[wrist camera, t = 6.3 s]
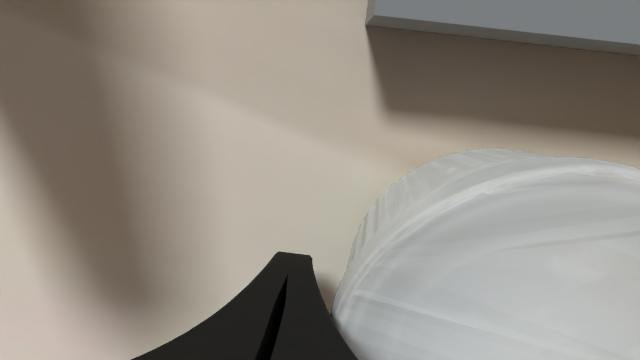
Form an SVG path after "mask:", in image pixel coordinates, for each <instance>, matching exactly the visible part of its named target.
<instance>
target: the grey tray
mask: <svg viewBox="0 0 640 360" xmlns="http://www.w3.org/2000/svg"><path fill="white" fill-rule="evenodd" d="M365 25H370V26H379V27H387V28H396V29H405V30H414V31H423V32H432V33H441V34H450V35H459V36H468V37H477V38H486V39H495V40H504V41H513V42H522V43H531V44H540V45H549V46H558V47H567V48H576V49H584V50H593V51H602V52H611V53H620V54H629V55H638V56H640V0H369V1H368V8H367V15H366V22H365Z"/></svg>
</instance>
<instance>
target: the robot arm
mask: <svg viewBox="0 0 640 360" xmlns="http://www.w3.org/2000/svg"><path fill="white" fill-rule="evenodd" d="M131 360H358V358H357V357H356V356H355V354H354V353H353V352H352V350H351V349H350V348H349V346H348V345H347V343H346V342H345V340H344V339H343V337H342V335H341V334H340V332H339V331H338V329H337V327H336V325H335V324H334V322H333V320H332V318H331V316H330V314H329V312H328V310H327V308H326V305H325V303H324V301H323V298H322V296H321V293H320V290H319V288H318V285H317V282H316V279H315V275H314V271H313V265H312V258H311V256H310V255H303V254H294V253H286V252H277V253H276V254H275V255H274V256H273V258H272V259H271V260H270V262H269V263H268V264H267V265H266V266H265V268H264V269H263V270H262V271H261V272H260V273H259V274H258V275H257V276H256V277H255V278H254V279H253V280H252V282H251V283H250V284H249V285H248V286H247V287H245V288H244V289H243V290H242V291H241V292H240V293H239V294H238V295H237V296H236V297H235V298H233V299H232V300H231V301H230V302H229V303H227V304H226V305H225V306H224V307H223V308H221V309H220V310H219V311H217V312H216V313H215V314H213V315H212V316H211V317H209V318H208V319H206V320H205V321H203V322H202V323H200V324H199V325H197V326H196V327H194V328H192V329H191V330H189V331H188V332H186V333H184V334H183V335H181V336H179V337H177V338H175V339H173V340H172V341H170V342H168V343H166V344H164V345H162V346H160V347H158V348H156V349H154V350H152V351H150V352H148V353H145V354H143V355H141V356H138V357H136V358H134V359H131Z"/></svg>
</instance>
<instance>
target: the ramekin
mask: <svg viewBox="0 0 640 360" xmlns="http://www.w3.org/2000/svg"><path fill="white" fill-rule="evenodd" d="M331 318H332V320H333V322H334V324H335V325H336V327H337V329H338V331H339V332H340V334H341V335H342V337H343V339H344V340H345V342H346V343H347V345H348V346H349V348H350V349H351V350H352V352H353V353H354V354H355V356H356V357H357V358H358V360H640V169H638V168H634V167H631V166H627V165H624V164H620V163H614V162H609V161H603V160H596V159H588V158H577V157H550V156H544V155H539V154H534V153H529V152H524V151H519V150H503V149H496V148H493V149H486V150H485V149H475V150H471V151H467V152H458V153H455V154H452V155H450V156H446V157H440V158H438V159H436V160H434V161H432V162H430V163H427V164H424V165H421V166H420V167H418V168H417V169H415V170H413V171H411V172H409V173H407V174H406V175H404V176H403V177H402V178H401V179H399V180H398V181H396V182H395V183H393V184H392V185H391V187H390V188H389V189H388V190H387V191H385V192H384V193H383V194H381V195H380V197H379V198H378V199H377V201H376V202H375V204H374V205H373V206H372V207H371V208H370V209H369V211H368V213H367V215H366V217H365V218H364V220H363V221H362V222H361V224H360V227H359V230H358V233H357V235H356V237H355V239H354V242H353V246H352V250H351V254H350V258H349V262H348V266H347V270H346V272H345V274H344V276H343V278H342V280H341V282H340V284H339V287H338V290H337V292H336V295H335V298H334V302H333V306H332V310H331Z"/></svg>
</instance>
